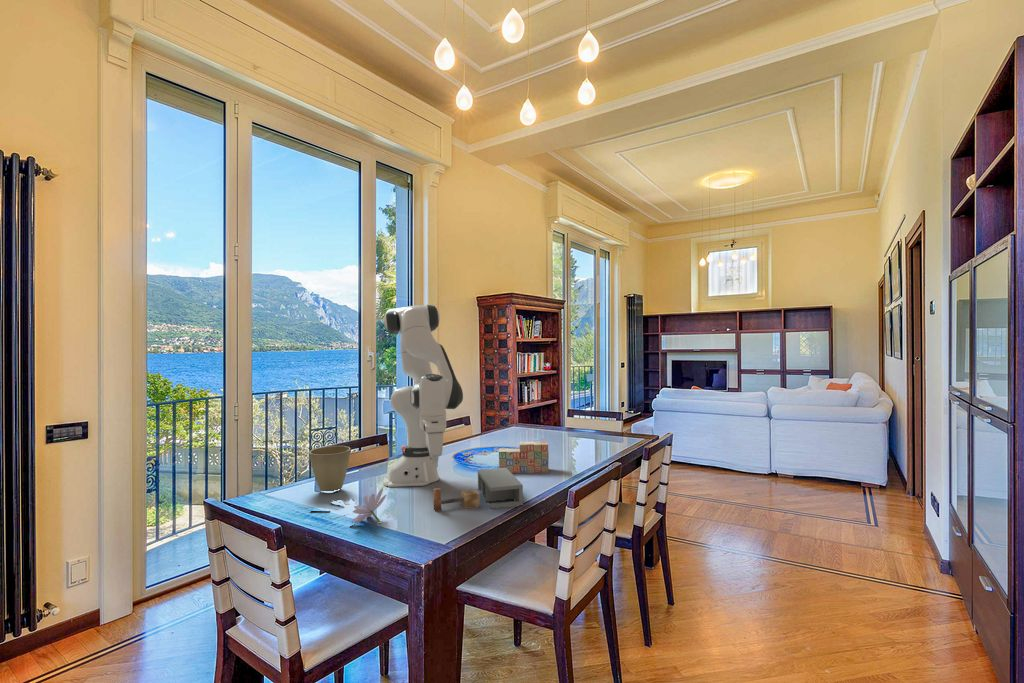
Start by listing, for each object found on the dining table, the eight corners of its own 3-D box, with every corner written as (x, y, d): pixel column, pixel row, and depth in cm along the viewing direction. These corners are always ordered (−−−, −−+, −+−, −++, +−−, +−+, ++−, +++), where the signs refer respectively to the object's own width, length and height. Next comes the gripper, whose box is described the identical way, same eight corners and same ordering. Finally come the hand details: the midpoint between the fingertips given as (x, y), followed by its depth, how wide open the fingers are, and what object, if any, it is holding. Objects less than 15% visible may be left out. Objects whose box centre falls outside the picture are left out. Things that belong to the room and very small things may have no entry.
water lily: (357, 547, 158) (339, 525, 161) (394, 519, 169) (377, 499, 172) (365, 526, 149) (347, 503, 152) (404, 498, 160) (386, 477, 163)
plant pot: (306, 490, 198) (305, 449, 198) (344, 483, 206) (343, 444, 206) (315, 499, 185) (314, 456, 185) (356, 491, 194) (355, 450, 194)
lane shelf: (491, 508, 171) (490, 487, 171) (478, 488, 195) (477, 469, 195) (522, 505, 174) (522, 484, 174) (506, 485, 198) (506, 467, 198)
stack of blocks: (498, 473, 217) (498, 444, 217) (499, 469, 223) (499, 441, 223) (548, 472, 217) (548, 444, 217) (548, 469, 223) (547, 441, 223)
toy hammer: (435, 512, 169) (434, 491, 169) (432, 508, 173) (431, 487, 173) (479, 506, 174) (478, 486, 174) (475, 502, 179) (474, 482, 179)
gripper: (421, 418, 180) (421, 456, 181) (426, 428, 161) (426, 472, 161) (439, 417, 182) (439, 455, 182) (445, 427, 162) (446, 470, 162)
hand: (433, 463), depth 171 cm, fingers open, 8 cm apart
